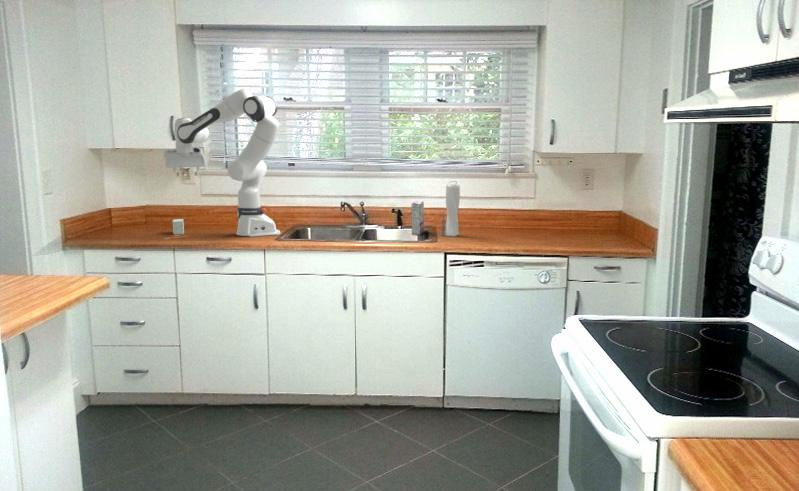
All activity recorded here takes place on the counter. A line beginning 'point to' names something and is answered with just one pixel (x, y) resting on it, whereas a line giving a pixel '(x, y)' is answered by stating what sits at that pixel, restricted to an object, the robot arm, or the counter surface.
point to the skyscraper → (451, 210)
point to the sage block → (178, 226)
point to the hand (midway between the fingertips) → (186, 175)
